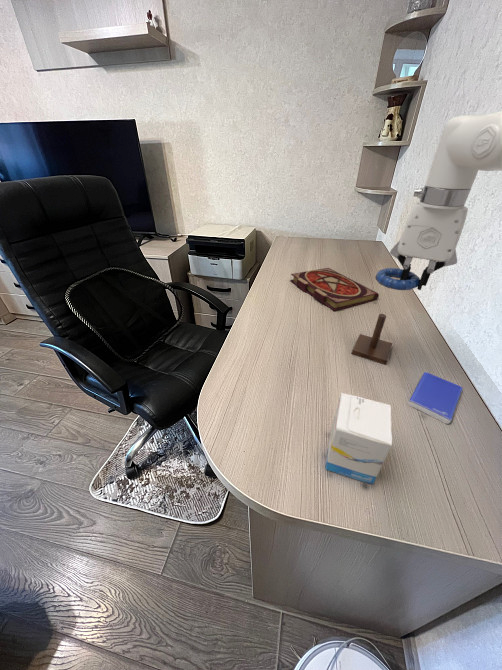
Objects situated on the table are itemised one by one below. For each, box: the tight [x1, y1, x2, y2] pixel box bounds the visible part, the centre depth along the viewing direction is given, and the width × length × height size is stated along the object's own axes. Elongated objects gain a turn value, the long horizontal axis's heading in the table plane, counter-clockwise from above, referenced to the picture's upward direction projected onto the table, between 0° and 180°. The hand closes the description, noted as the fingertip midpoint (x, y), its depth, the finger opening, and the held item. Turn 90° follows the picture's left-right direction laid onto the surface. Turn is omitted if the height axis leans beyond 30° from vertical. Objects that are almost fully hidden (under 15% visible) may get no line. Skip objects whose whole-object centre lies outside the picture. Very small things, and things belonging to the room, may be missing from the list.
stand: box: [351, 313, 393, 366], centre depth 75 cm, size 9×9×12 cm
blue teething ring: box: [375, 267, 421, 291], centre depth 64 cm, size 9×9×2 cm
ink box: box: [324, 392, 393, 485], centre depth 48 cm, size 9×8×12 cm
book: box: [289, 267, 380, 312], centre depth 109 cm, size 28×21×5 cm
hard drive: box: [407, 371, 463, 425], centre depth 63 cm, size 2×8×12 cm
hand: (411, 285), depth 63 cm, fingers closed on blue teething ring, 2 cm apart
